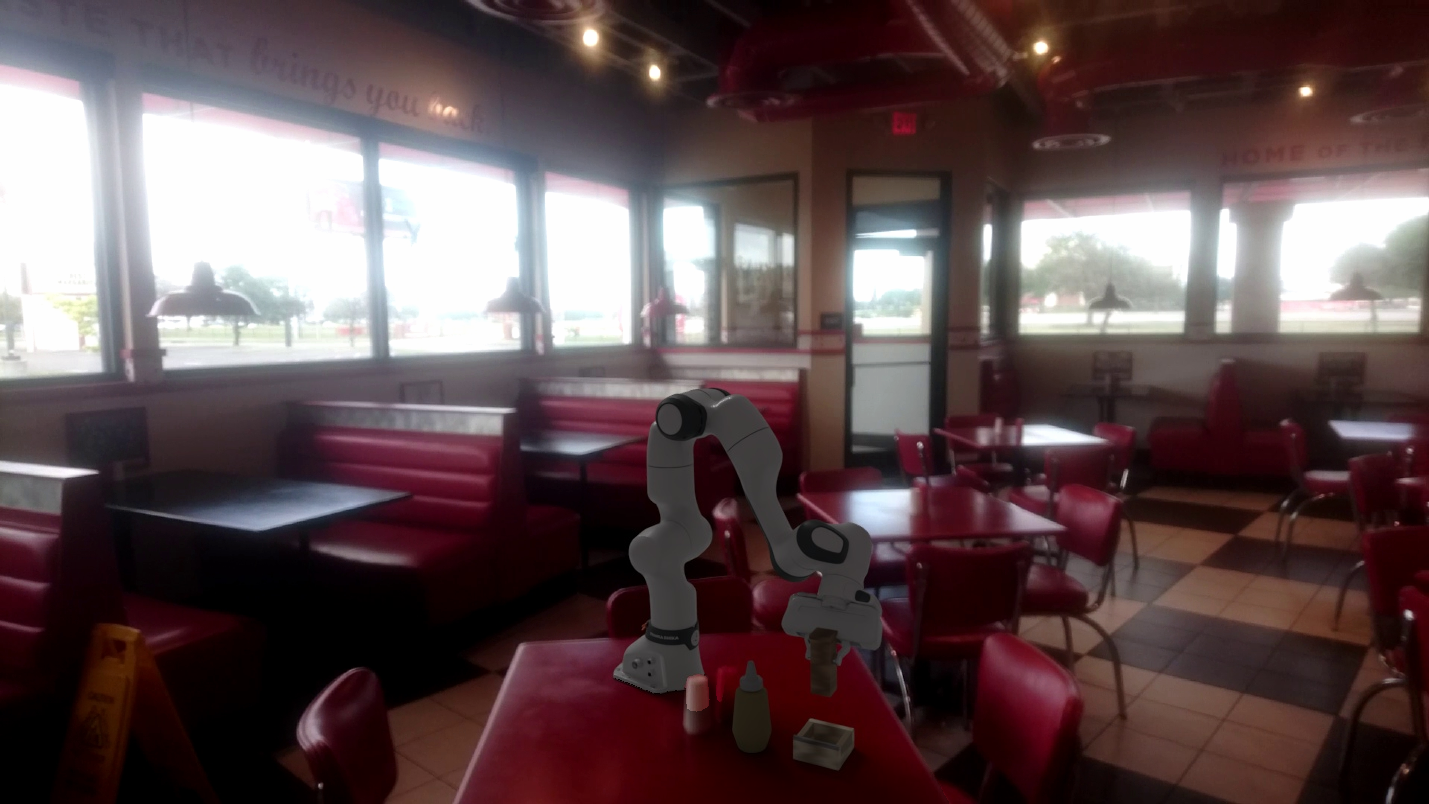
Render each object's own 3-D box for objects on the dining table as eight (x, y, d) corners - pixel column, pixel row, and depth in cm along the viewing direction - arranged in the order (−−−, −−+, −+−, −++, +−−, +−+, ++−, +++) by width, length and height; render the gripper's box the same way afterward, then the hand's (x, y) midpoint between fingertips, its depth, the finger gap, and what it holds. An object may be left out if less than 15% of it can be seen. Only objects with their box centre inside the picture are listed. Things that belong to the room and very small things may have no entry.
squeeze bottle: (769, 758, 161) (768, 672, 159) (729, 755, 163) (727, 669, 161) (774, 737, 169) (773, 654, 167) (736, 734, 171) (734, 652, 169)
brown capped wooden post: (809, 693, 161) (808, 634, 159) (817, 684, 165) (816, 627, 163) (830, 697, 159) (830, 638, 157) (838, 688, 163) (837, 630, 161)
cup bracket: (793, 758, 161) (793, 735, 161) (810, 736, 169) (810, 714, 169) (838, 770, 157) (838, 747, 156) (854, 747, 165) (854, 724, 164)
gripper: (787, 583, 170) (769, 645, 163) (883, 597, 161) (868, 664, 153) (796, 597, 175) (778, 658, 167) (889, 612, 165) (875, 677, 158)
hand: (822, 661), depth 160 cm, fingers closed on brown capped wooden post, 4 cm apart
